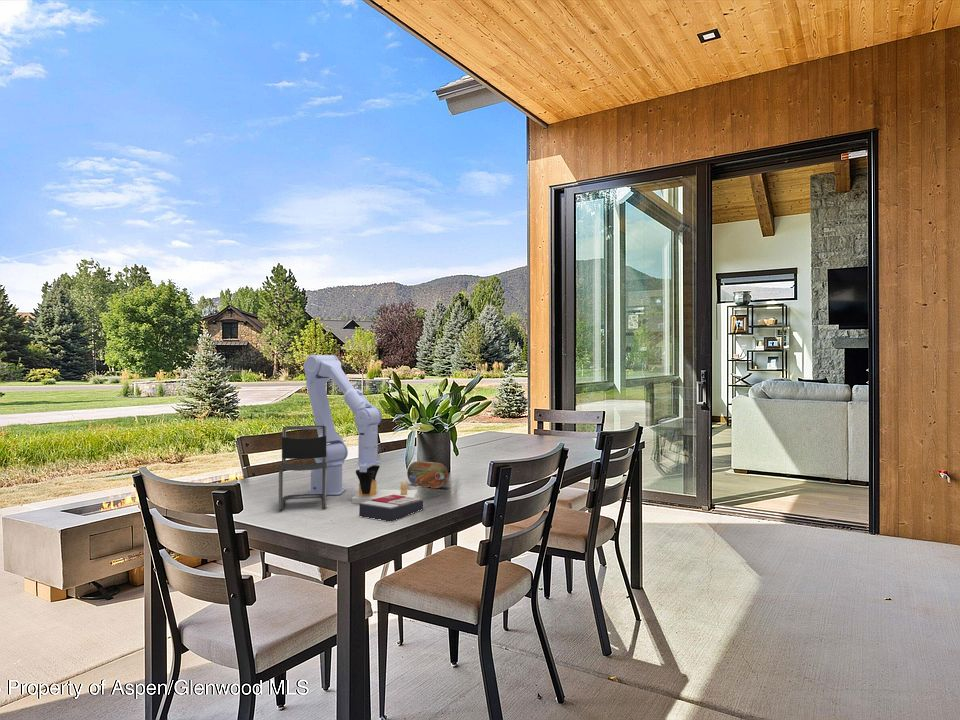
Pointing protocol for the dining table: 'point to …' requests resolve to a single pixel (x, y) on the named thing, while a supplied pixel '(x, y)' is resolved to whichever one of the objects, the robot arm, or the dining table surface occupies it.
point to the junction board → (386, 494)
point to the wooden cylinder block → (372, 491)
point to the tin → (427, 474)
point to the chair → (303, 451)
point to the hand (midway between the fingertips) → (367, 491)
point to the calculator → (390, 507)
